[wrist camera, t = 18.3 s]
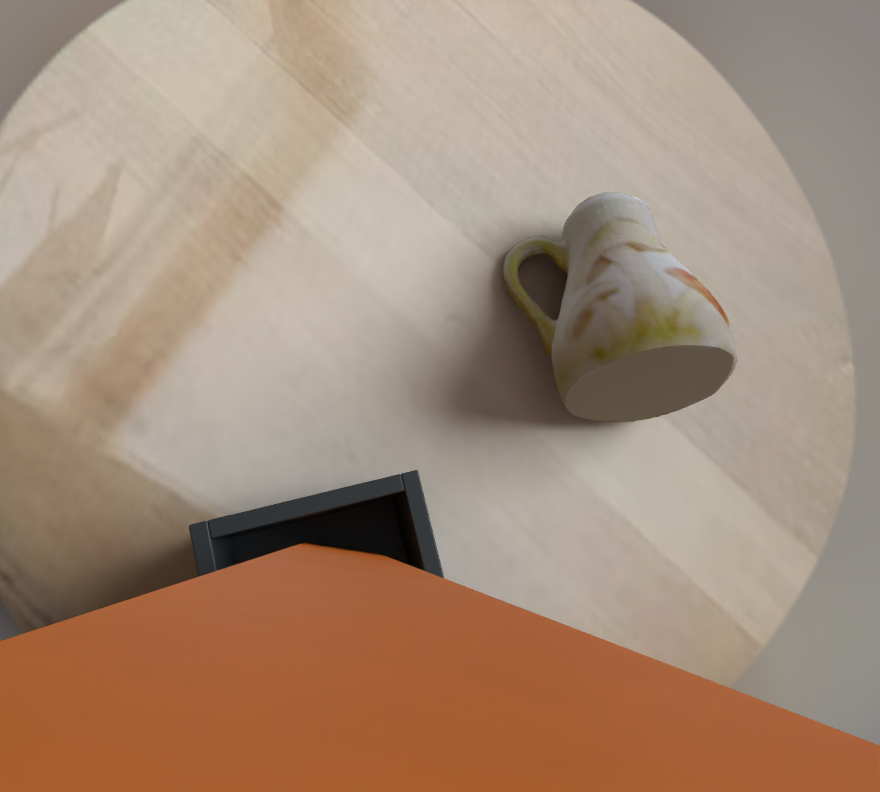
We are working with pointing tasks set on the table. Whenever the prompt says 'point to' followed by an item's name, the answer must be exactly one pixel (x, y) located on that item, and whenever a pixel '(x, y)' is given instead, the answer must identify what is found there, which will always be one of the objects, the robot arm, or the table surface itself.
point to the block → (379, 696)
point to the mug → (625, 316)
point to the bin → (327, 526)
